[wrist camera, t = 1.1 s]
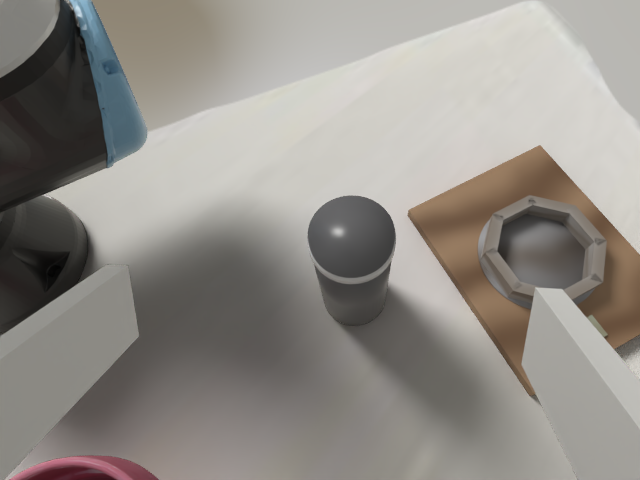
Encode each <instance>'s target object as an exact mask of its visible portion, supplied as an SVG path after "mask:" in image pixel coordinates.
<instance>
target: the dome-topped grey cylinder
mask: <svg viewBox="0 0 640 480" xmlns="http://www.w3.org/2000/svg"><path fill="white" fill-rule="evenodd" d="M395 244H396V234H395V228H394V224H393V221H392V219H391V217H390V215H389V214H388V213H387V211H386V210H385V209H384V208H383V207H382V206H381V205H379V204H378V203H376V202H375V201H373V200H371V199H368V198H365V197H361V196H343V197H339V198H336V199H333V200H331V201H329V202H327V203H326V204H324V205H323V206H322V207H321V208H320V209H319V210H318V211H317V212H316V213H315V214H314V216H313V218H312V220H311V222H310V225H309V228H308V248H309V252H310V256H311V259H312V261H313V263H314V265H315V269H316V273H317V277H318V281H319V284H320V288H321V292H322V296H323V300H324V303H325V306H326V309H327V310H328V312H329V313H330V315H331V316H332V317H333V318H334V319H336V320H337V321H339V322H341V323H343V324H346V325H351V326H358V325H363V324H366V323H369V322H370V321H372V320H373V319H375V318H376V317H377V316H378V315H379V314H380V312H381V311H382V309H383V306H384V303H385V298H386V291H387V285H388V279H389V273H390V266H391V260H392V258H393V255H394V250H395Z"/></svg>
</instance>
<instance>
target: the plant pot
mask: <svg viewBox="0 0 640 480" xmlns="http://www.w3.org/2000/svg"><path fill="white" fill-rule="evenodd" d="M9 480H158V479H157V478H156V477H155V476H154V475H153V474H152V473H150V472H149V471H148V470H146V469H145V468H143V467H141V466H140V465H138V464H135V463H133V462H131V461H128V460H125V459H121V458H117V457H111V456H72V457H65V458H59V459H54V460H50V461H47V462H44V463H40V464H38V465H35V466H33V467H30V468H28V469H26V470H24V471H22V472H21V473H19V474H17V475H16V476H14V477H13V478H11V479H9Z"/></svg>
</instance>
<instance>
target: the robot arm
mask: <svg viewBox="0 0 640 480" xmlns="http://www.w3.org/2000/svg"><path fill="white" fill-rule="evenodd" d="M146 138H147V127H146V124H145V122H144V119H143V116H142V114H141V111H140V109H139V107H138V104H137V102H136V100H135V97H134V95H133V93H132V90H131V88H130V86H129V83H128V81H127V78H126V76H125V74H124V72H123V69H122V67H121V65H120V62H119V60H118V58H117V56H116V53H115V51H114V49H113V46H112V44H111V42H110V39H109V37H108V35H107V33H106V30H105V28H104V26H103V24H102V21H101V19H100V17H99V15H98V13H97V11H96V9H95V7H94V5H93V2H92V1H91V0H66V1H64V0H0V333H2V332H6V333H4V334H3V335H1V336H0V480H4V479H5V478H6V477H7V476H8V475H9V474H10V473H11V472H12V471H13V470H14V469H15V467H16V466H17V465H18V464H19V463H20V462H21V461H22V460H23V459H24V458H25V457H26V456H27V455H28V454H29V453H30V452H31V451H32V449H33V448H34V447H35V446H36V445H37V444H38V443H39V442H40V441H41V440H42V439H43V438H44V437H45V436H46V435H47V434H48V432H49V431H50V430H51V429H52V428H53V427H54V426H55V425H56V424H57V423H58V422H59V421H60V420H61V419H62V418H63V417H64V415H65V414H66V413H67V412H68V411H69V410H70V409H71V408H72V407H73V406H74V405H75V404H76V403H77V402H78V401H79V400H80V398H81V397H82V396H83V395H84V394H85V393H86V392H87V391H88V390H89V389H90V388H91V387H92V386H93V385H94V384H95V383H96V381H97V380H98V379H99V378H100V377H101V376H102V375H103V374H104V373H105V372H106V371H107V370H108V369H109V368H110V367H111V366H112V364H113V363H114V362H115V361H116V360H117V359H118V358H119V357H120V356H121V355H122V354H123V353H124V352H125V351H126V350H127V349H128V348H129V346H130V345H131V344H132V343H133V342H134V341H135V340H136V339H137V338H138V337H139V331H138V325H137V318H136V312H135V306H134V299H133V293H132V287H131V280H130V274H129V268H128V265H112V264H107V265H105V266H104V267H102V268H101V269H99V270H98V271H96V272H95V273H93V274H92V275H90V276H89V277H87V278H86V279H84V280H83V281H81V282H80V283H78V284H77V285H76V283H77V281H78V280H79V278H80V276H81V273H82V271H83V268H84V265H85V262H86V257H87V246H88V245H87V236H86V232H85V229H84V227H83V224H82V223H81V221H80V220H79V218H78V217H77V216H76V215H75V214H74V213H73V212H72V211H71V210H70V209H68V208H67V207H66V206H65V205H63V204H62V203H61V202H59V201H58V200H56V199H54V198H52V197H50V196H47V195H44V194H46V193H48V192H51V191H53V190H55V189H58V188H60V187H62V186H65V185H67V184H69V183H72V182H74V181H76V180H79V179H81V178H84V177H86V176H88V175H91V174H93V173H95V172H98V171H100V170H102V169H105V168H110V167H112V166H113V164H114V163H115V162H117V161H119V160H121V159H123V158H125V157H127V156H128V155H130V154H132V153H134V152H136V151H138V150H139V149H140V148H141V147H142V146H143V145H144V143H145V141H146ZM75 285H76V286H75ZM521 365H522V367H523V369H524V371H525V373H526V375H527V377H528V379H529V381H530V383H531V385H532V387H533V389H534V391H535V393H536V395H537V398H538V400H539V402H540V404H541V406H542V408H543V410H544V412H545V414H546V416H547V418H548V420H549V422H550V424H551V426H552V428H553V430H554V432H555V434H556V436H557V438H558V440H559V442H560V445H561V447H562V449H563V451H564V453H565V455H566V457H567V459H568V461H569V463H570V465H571V467H572V469H573V471H574V473H575V475H576V477H577V479H578V480H640V379H639V378H638V377H637V376H636V374H635V373H634V372H633V371H632V370H631V369H630V367H629V366H628V365H627V364H626V363H625V362H624V360H623V359H622V358H621V357H620V356H619V355H618V354H617V352H616V351H615V350H614V349H613V348H612V347H611V345H610V344H609V343H608V342H607V341H606V340H605V338H604V337H603V336H602V335H601V334H600V333H599V331H598V330H597V329H596V328H595V327H594V326H593V324H592V323H591V322H590V321H589V320H588V319H587V317H586V316H585V315H584V314H583V313H582V312H581V310H580V309H579V308H578V307H577V306H576V305H575V303H574V302H573V301H572V300H571V299H570V298H569V296H568V295H567V294H566V293H565V292H564V291H563V289H554V288H536V287H535V292H534V297H533V303H532V308H531V314H530V319H529V325H528V330H527V336H526V341H525V347H524V352H523V358H522V363H521Z"/></svg>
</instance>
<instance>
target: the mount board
mask: <svg viewBox="0 0 640 480" xmlns="http://www.w3.org/2000/svg"><path fill="white" fill-rule="evenodd" d="M408 217H409V218H410V220H411V221H412V223H413V224H414V225H415V227H416V228H417V230H418V231H419V233H420V234H421V236H422V237H423V239H424V240H425V242H426V243H427V245H428V246H429V248H430V249H431V251H432V252H433V254H434V255H435V257H436V258H437V259H438V261H439V262H440V264H441V265H442V267H443V268H444V270H445V271H446V273H447V274H448V276H449V277H450V279H451V280H452V282H453V283H454V285H455V286H456V288H457V289H458V291H459V292H460V293H461V295H462V296H463V298H464V299H465V301H466V302H467V304H468V305H469V307H470V308H471V310H472V311H473V313H474V314H475V316H476V317H477V319H478V320H479V322H480V323H481V325H482V326H483V327H484V329H485V330H486V332H487V333H488V335H489V336H490V338H491V339H492V341H493V342H494V344H495V345H496V347H497V348H498V350H499V351H500V353H501V354H502V356H503V357H504V359H505V360H506V361H507V363H508V364H509V366H510V367H511V369H512V370H513V372H514V373H515V375H516V376H517V378H518V379H519V381H520V382H521V384H522V385H523V387H524V388H525V390H526V391H527V392H528V394H529V395H530V396H531V395H535V394H536V393H535V391H534V389H533V387H532V385H531V383H530V381H529V379H528V377H527V375H526V373H525V371H524V369H523V367H522V365H521V363H522V358H523V352H524V347H525V341H526V336H527V330H528V325H529V319H530V314H531V308H532V303H533V297H534V292H535V287H536V288H554V289H563V291H564V292H565V293H566V294H567V295H568V296H569V298H570V299H571V300H572V301H573V302H574V303H575V305H576V306H577V307H578V308H579V309H580V310H581V312H582V313H583V314H584V315H585V316H586V317H587V319H588V320H589V321H590V322H591V323H592V324H593V326H594V327H595V328H596V329H597V330H598V331H599V333H600V334H601V335H602V336H603V337H604V338H605V340H606V341H607V342H608V343H609V344H610V345H611V347H612V348H613V349H615V348H617V347H619V346H621V345H622V344H624V343H626V342H628V341H629V340H631V339H633V338H635V337H636V336H638V335H640V255H639V254H638V253H637V251H636V250H635V249H634V248H633V247H632V246H631V245H630V244H629V243H628V241H627V240H626V239H625V238H624V237H623V236H622V235H621V234H620V233H619V232H618V230H617V229H616V228H615V227H614V226H613V225H612V224H611V223H610V222H609V221H608V219H607V218H606V217H605V216H604V215H603V214H602V213H601V212H600V211H599V210H598V208H597V207H596V206H595V205H594V204H593V203H592V202H591V201H590V200H589V199H588V197H587V196H586V195H585V194H584V193H583V192H582V191H581V190H580V189H579V188H578V186H577V185H576V184H575V183H574V182H573V181H572V180H571V179H570V178H569V177H568V175H567V174H566V173H565V172H564V171H563V170H562V169H561V168H560V167H559V165H558V164H557V163H556V162H555V161H554V160H553V159H552V158H551V157H550V156H549V154H548V153H547V152H546V151H545V150H544V149H543V148H542V147H541V146H540V145H539V146H537V147H535V148H533V149H531V150H529V151H527V152H525V153H523V154H521V155H519V156H517V157H515V158H513V159H511V160H509V161H507V162H505V163H503V164H501V165H499V166H497V167H495V168H493V169H491V170H489V171H487V172H485V173H483V174H481V175H479V176H476V177H474V178H472V179H470V180H468V181H466V182H464V183H462V184H460V185H458V186H456V187H454V188H452V189H450V190H448V191H446V192H444V193H442V194H440V195H438V196H436V197H434V198H432V199H430V200H428V201H426V202H424V203H422V204H420V205H418V206H416V207H414V208H412V209H410V210H409V211H408Z"/></svg>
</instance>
